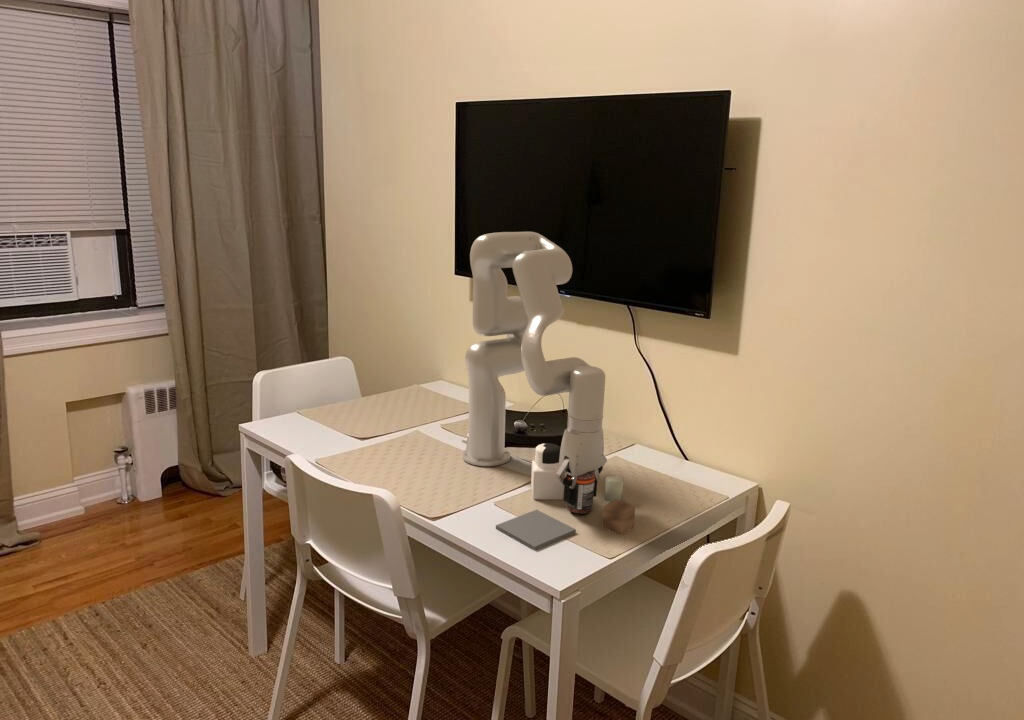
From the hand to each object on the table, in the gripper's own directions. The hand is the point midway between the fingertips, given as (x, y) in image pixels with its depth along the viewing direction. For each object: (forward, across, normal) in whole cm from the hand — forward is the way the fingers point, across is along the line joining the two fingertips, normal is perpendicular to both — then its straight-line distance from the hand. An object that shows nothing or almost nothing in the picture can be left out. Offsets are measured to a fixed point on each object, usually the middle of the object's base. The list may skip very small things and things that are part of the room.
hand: (579, 497), depth 169 cm
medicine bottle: (+4, -1, -11) cm, 12 cm away
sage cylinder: (+3, -11, +1) cm, 11 cm away
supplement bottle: (+3, 0, 0) cm, 3 cm away
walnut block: (+3, -1, +11) cm, 11 cm away
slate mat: (+3, +14, +1) cm, 14 cm away
